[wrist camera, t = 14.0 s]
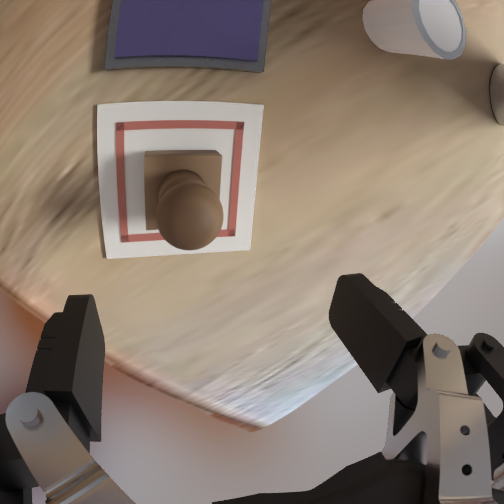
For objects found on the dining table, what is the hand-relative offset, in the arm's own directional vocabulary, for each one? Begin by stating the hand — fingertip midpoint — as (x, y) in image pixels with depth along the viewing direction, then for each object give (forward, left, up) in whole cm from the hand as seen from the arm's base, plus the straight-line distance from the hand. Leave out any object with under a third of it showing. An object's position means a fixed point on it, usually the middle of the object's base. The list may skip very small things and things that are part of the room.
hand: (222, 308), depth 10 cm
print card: (0, 0, -15) cm, 15 cm away
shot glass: (-17, -16, -15) cm, 28 cm away
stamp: (0, 0, -15) cm, 15 cm away
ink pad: (0, -13, -15) cm, 20 cm away
